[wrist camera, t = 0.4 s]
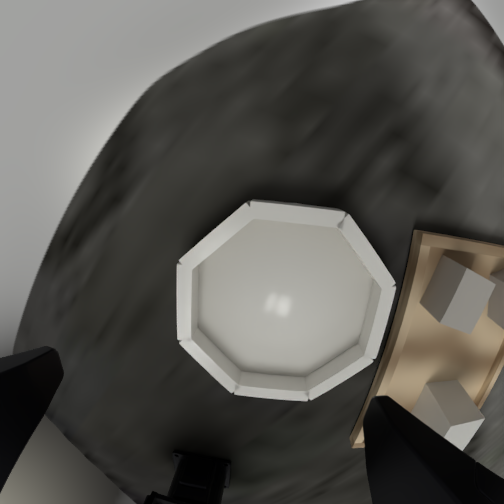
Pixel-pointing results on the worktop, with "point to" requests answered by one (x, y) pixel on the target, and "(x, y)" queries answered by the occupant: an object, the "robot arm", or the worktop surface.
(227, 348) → the bowl
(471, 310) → the grey cubic piece
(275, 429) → the worktop surface
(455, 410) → the grey rectangular block
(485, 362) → the tray
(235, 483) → the worktop surface
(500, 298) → the grey piece
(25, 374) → the robot arm
